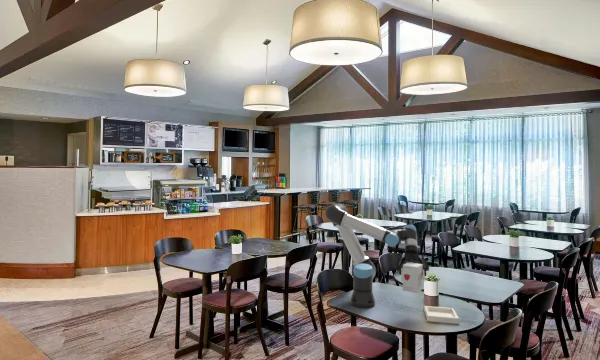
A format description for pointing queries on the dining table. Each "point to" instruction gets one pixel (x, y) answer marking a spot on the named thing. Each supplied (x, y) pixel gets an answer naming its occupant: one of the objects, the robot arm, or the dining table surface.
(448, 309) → the stoneware dish
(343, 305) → the dining table surface
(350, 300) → the robot arm
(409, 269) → the supplement box
